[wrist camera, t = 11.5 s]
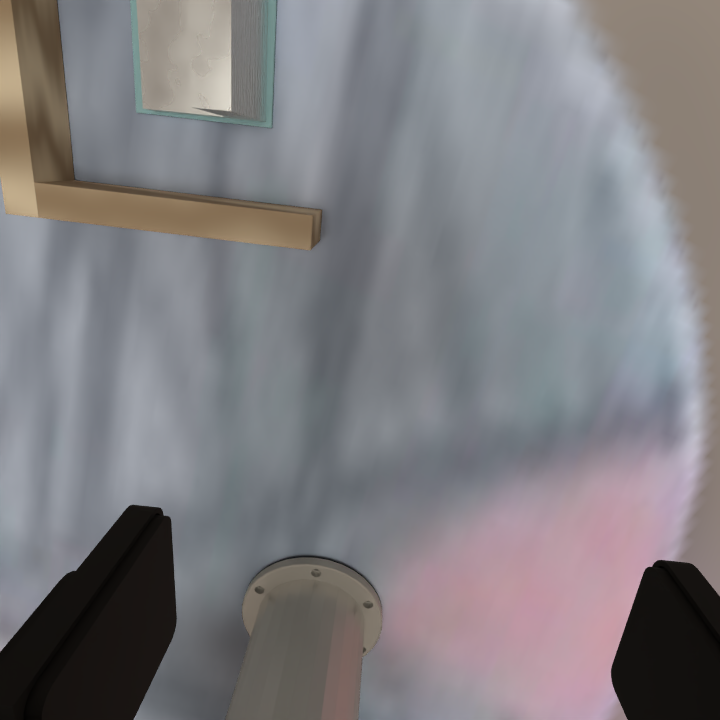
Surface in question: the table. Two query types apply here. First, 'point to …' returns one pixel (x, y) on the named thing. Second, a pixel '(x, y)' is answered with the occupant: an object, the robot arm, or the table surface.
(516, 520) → the table surface
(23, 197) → the wooden l-shaped piece
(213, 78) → the bracket
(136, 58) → the teal square plate
